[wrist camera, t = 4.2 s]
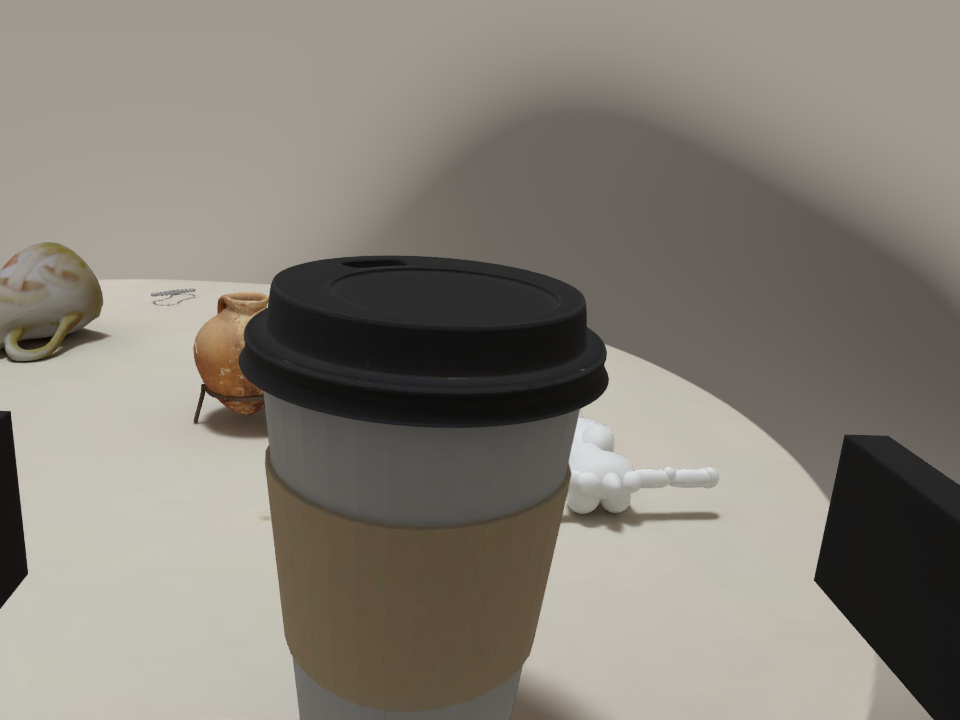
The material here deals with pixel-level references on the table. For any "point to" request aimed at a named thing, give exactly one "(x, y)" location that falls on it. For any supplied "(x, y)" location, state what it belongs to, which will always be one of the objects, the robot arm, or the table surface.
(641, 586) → the table surface
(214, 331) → the pot
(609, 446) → the decorative figure
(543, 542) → the coffee cup
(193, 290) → the necklace
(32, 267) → the mug
